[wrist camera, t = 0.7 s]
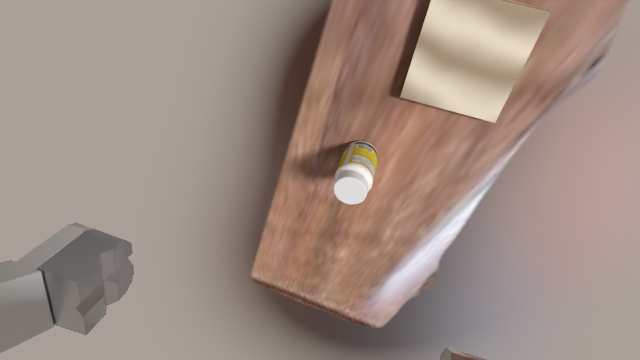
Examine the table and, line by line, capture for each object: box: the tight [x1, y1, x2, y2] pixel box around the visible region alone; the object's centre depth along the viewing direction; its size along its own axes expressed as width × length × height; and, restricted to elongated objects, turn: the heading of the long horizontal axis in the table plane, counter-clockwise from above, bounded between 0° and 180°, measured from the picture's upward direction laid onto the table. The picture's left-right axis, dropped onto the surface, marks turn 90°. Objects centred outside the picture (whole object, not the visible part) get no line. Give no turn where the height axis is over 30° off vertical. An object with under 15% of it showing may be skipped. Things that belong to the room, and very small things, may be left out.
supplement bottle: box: [334, 141, 378, 204], centre depth 49 cm, size 5×5×8 cm
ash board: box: [400, 0, 551, 123], centre depth 41 cm, size 12×11×2 cm
